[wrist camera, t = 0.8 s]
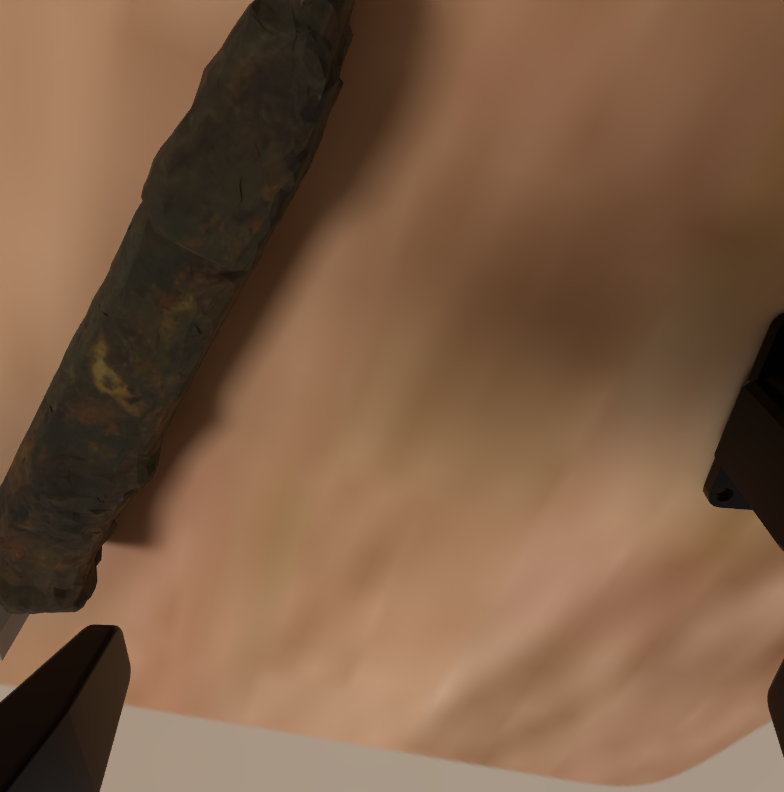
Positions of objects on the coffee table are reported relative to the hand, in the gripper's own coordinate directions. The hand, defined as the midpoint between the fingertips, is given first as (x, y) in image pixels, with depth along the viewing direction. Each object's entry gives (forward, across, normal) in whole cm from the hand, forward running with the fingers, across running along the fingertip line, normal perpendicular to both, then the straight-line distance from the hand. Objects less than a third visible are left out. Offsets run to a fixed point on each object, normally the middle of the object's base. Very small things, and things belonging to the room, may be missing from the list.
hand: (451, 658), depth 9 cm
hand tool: (+11, +8, -1) cm, 13 cm away
